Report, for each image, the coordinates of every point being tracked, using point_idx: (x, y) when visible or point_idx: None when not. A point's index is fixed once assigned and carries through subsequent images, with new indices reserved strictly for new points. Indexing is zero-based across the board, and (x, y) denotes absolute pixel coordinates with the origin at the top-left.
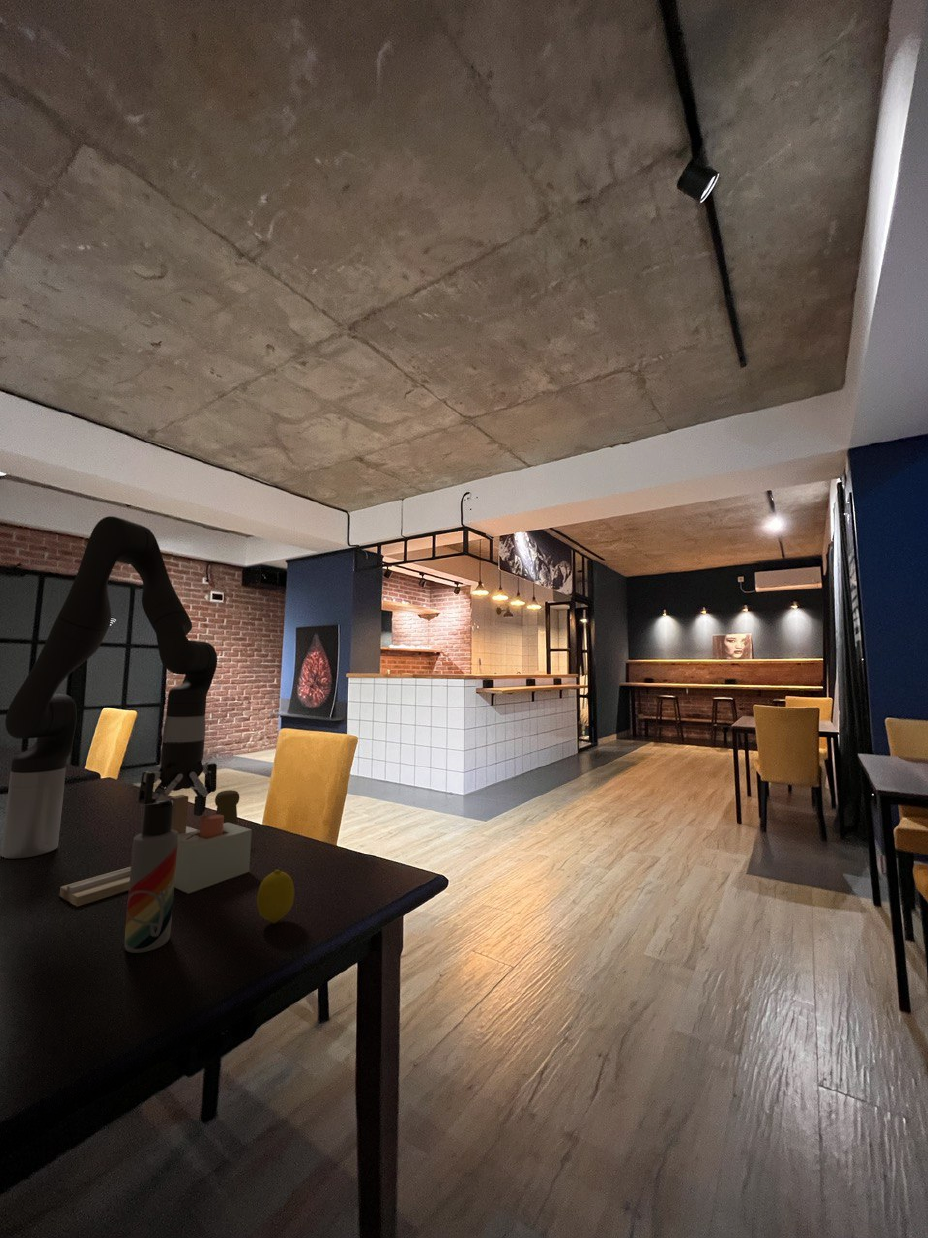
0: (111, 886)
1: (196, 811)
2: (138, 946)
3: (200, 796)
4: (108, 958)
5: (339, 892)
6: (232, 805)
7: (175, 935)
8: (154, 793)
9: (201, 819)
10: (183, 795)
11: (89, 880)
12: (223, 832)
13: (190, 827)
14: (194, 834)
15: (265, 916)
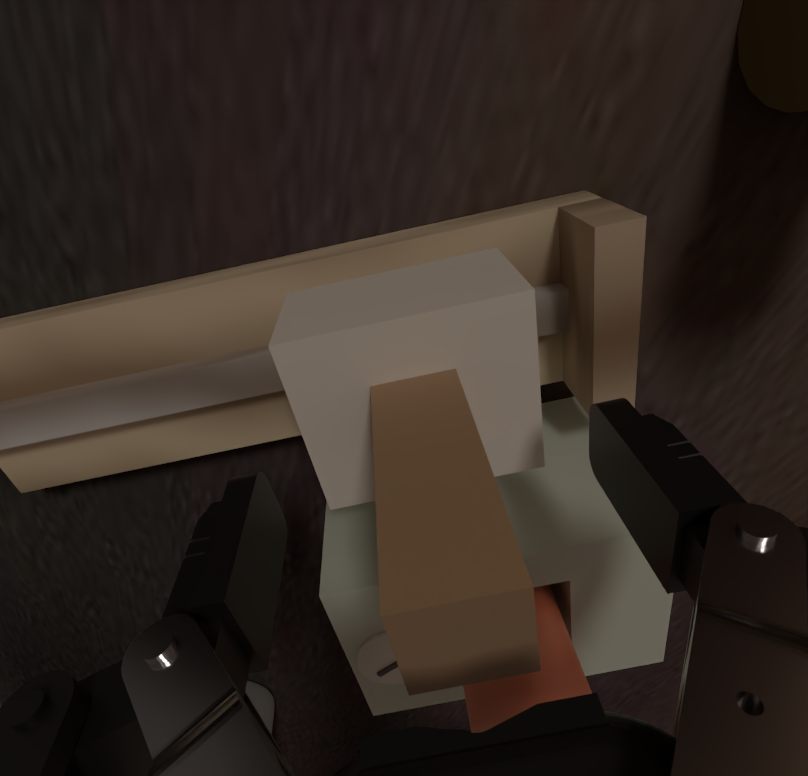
0: (131, 467)
1: (604, 449)
2: None
3: (687, 584)
4: None
5: (632, 700)
6: None
7: (287, 698)
8: (157, 758)
9: (472, 726)
10: (524, 624)
11: (25, 416)
12: (568, 618)
13: (536, 354)
14: None
15: None
